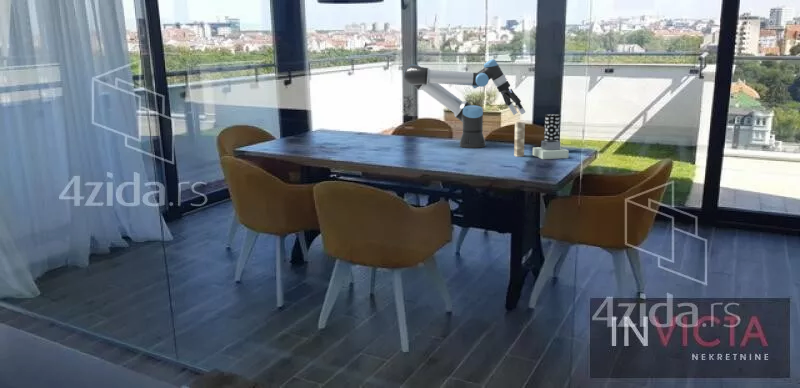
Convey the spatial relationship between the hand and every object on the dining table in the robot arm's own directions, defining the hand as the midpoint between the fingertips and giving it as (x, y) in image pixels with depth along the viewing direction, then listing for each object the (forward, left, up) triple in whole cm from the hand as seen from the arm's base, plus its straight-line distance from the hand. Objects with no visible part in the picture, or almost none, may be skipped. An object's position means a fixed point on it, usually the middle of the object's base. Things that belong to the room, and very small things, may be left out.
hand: (519, 113), depth 376 cm
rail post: (-18, -48, -18) cm, 54 cm away
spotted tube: (+5, -37, -18) cm, 41 cm away
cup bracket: (-3, -54, -14) cm, 55 cm away
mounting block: (-3, -54, -18) cm, 57 cm away
